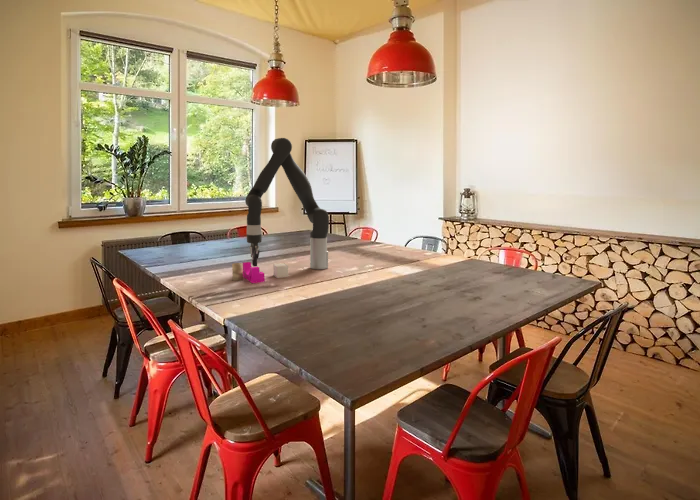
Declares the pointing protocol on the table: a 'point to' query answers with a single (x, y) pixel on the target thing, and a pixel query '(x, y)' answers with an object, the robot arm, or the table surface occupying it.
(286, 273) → the beige cube
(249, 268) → the toy block
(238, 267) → the birch cylinder
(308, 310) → the table surface
